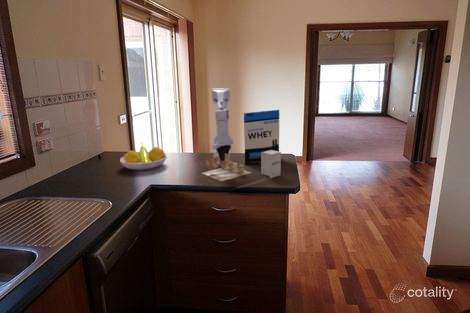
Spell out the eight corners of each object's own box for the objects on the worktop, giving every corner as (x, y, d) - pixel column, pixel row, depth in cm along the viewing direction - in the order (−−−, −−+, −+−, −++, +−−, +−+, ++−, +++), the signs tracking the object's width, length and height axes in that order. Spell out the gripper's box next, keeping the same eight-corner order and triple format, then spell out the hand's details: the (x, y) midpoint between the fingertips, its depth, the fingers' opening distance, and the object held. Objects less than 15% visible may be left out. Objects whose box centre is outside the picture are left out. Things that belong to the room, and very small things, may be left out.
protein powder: (240, 163, 199) (239, 112, 191) (274, 157, 210) (274, 109, 202) (249, 166, 190) (248, 114, 183) (283, 160, 202) (284, 110, 194)
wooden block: (209, 169, 177) (205, 161, 177) (211, 169, 178) (207, 160, 178) (228, 163, 168) (224, 153, 168) (230, 162, 169) (226, 153, 169)
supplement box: (271, 178, 169) (271, 154, 166) (260, 175, 175) (260, 151, 171) (281, 175, 174) (281, 151, 170) (270, 172, 179) (270, 149, 176)
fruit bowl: (162, 173, 183) (161, 153, 180) (113, 174, 184) (111, 154, 181) (172, 159, 210) (171, 142, 207) (130, 160, 211) (128, 143, 208)
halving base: (201, 174, 178) (200, 164, 177) (230, 167, 190) (230, 157, 189) (221, 183, 164) (221, 171, 163) (252, 174, 176) (251, 163, 175)
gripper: (219, 137, 159) (221, 164, 162) (237, 132, 170) (238, 157, 174) (208, 135, 163) (209, 162, 166) (226, 130, 174) (227, 156, 178)
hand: (223, 160), depth 170 cm, fingers closed on wooden block, 2 cm apart
